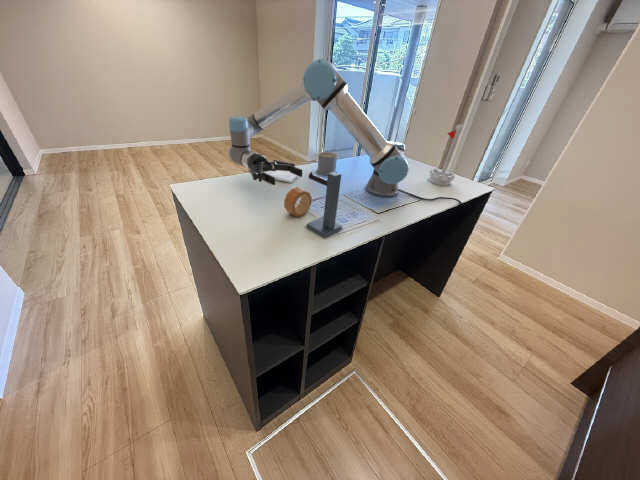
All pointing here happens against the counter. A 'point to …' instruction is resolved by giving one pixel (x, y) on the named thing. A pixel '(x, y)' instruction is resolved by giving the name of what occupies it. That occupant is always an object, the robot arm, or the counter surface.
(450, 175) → the flag stand
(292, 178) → the hard drive
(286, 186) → the counter surface
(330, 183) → the hook stand
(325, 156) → the coffee mug
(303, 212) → the tape roll
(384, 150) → the robot arm
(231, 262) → the counter surface
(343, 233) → the counter surface
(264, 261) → the counter surface
